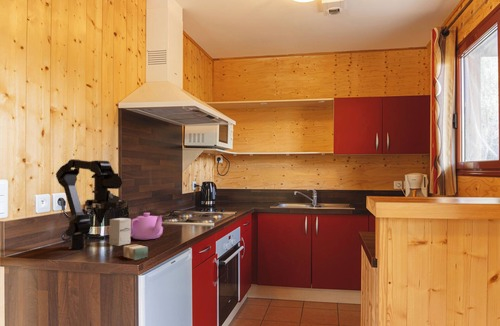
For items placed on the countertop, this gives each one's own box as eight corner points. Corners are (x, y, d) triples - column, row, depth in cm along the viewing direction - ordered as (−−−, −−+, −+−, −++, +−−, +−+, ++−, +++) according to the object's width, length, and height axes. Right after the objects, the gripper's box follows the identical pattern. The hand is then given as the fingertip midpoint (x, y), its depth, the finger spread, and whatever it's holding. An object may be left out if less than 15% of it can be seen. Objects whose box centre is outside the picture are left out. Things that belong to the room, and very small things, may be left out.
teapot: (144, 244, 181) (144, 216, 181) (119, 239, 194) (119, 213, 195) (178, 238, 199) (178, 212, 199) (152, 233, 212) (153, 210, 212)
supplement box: (118, 246, 176) (119, 220, 176) (108, 244, 180) (109, 218, 180) (130, 243, 182) (131, 218, 183) (121, 242, 186) (121, 217, 186)
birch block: (123, 246, 155) (135, 249, 149) (136, 244, 160) (147, 247, 154) (123, 256, 155) (134, 260, 149) (136, 254, 160) (147, 257, 154)
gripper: (128, 188, 164) (127, 223, 164) (107, 187, 176) (107, 219, 176) (104, 189, 156) (104, 225, 155) (84, 187, 168) (84, 221, 167)
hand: (100, 222), depth 164 cm, fingers closed
